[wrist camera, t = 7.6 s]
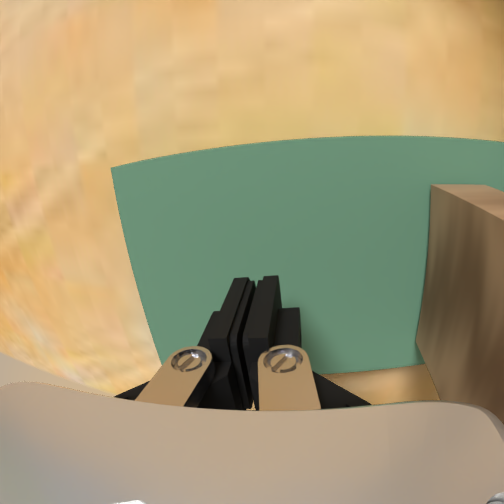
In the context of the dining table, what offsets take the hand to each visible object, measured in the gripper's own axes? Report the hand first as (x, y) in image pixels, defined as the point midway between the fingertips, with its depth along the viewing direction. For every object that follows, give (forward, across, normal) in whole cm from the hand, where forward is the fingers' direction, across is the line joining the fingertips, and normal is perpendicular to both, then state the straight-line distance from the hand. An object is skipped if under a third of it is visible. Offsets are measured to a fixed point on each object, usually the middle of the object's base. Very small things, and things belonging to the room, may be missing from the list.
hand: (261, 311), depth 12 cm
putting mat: (+6, -10, 0) cm, 12 cm away
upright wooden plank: (+2, -9, 0) cm, 9 cm away
